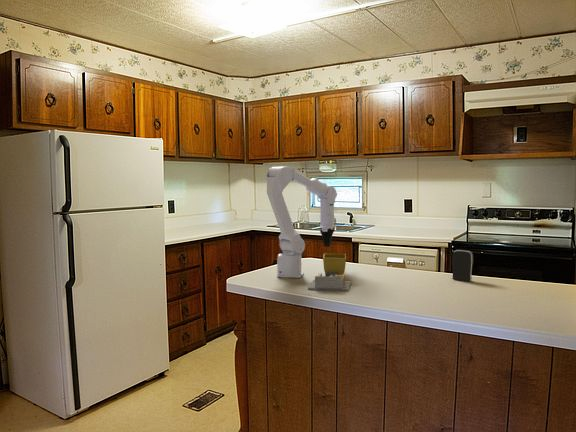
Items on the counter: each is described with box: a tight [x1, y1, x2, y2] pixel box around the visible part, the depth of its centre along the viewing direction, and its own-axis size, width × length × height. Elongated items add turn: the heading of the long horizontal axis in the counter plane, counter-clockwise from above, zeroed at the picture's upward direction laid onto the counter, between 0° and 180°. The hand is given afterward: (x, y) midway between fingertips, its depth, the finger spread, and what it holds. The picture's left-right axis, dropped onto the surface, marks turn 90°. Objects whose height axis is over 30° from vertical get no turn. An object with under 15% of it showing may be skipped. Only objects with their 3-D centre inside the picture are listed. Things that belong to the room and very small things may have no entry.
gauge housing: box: [307, 272, 352, 293], centre depth 161 cm, size 14×12×5 cm
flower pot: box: [322, 253, 347, 275], centre depth 174 cm, size 9×9×9 cm
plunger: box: [324, 271, 346, 278], centre depth 163 cm, size 8×10×4 cm
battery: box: [452, 249, 474, 282], centre depth 169 cm, size 7×4×11 cm, turn 50°
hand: (327, 246), depth 190 cm, fingers closed
